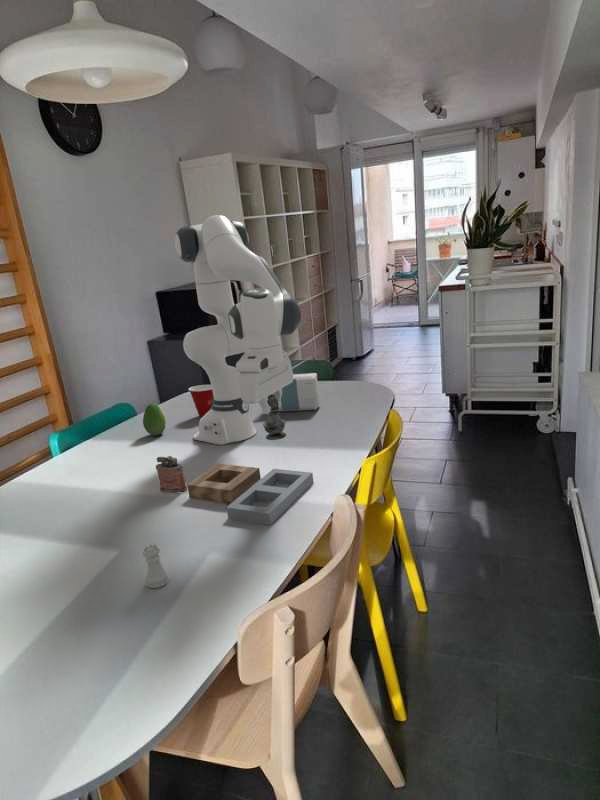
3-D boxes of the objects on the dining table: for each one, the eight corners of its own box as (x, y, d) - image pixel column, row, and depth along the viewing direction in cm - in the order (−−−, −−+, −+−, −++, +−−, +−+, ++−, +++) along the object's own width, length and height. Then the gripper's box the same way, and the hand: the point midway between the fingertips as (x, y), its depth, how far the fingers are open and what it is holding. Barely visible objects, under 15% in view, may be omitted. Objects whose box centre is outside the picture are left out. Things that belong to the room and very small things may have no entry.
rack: (228, 518, 133) (226, 507, 132) (274, 478, 152) (273, 468, 151) (270, 525, 127) (269, 513, 126) (313, 482, 146) (312, 472, 145)
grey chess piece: (284, 440, 136) (278, 394, 133) (261, 441, 138) (255, 395, 134) (289, 431, 142) (283, 387, 139) (267, 432, 143) (261, 388, 140)
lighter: (189, 488, 152) (183, 454, 150) (183, 493, 149) (176, 459, 147) (164, 486, 155) (158, 454, 152) (158, 492, 152) (151, 459, 149)
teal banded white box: (265, 413, 211) (258, 363, 206) (270, 407, 219) (264, 358, 213) (317, 411, 206) (312, 360, 201) (321, 404, 214) (316, 355, 208)
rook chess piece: (148, 577, 112) (141, 543, 110) (170, 574, 112) (163, 540, 110) (144, 591, 108) (136, 555, 105) (167, 587, 108) (159, 552, 106)
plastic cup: (226, 412, 219) (221, 383, 216) (208, 420, 211) (203, 391, 207) (206, 410, 225) (201, 382, 222) (187, 418, 217) (182, 389, 213)
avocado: (170, 430, 205) (164, 399, 201) (163, 437, 197) (157, 406, 194) (150, 431, 206) (144, 401, 202) (142, 439, 198) (135, 407, 195)
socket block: (189, 498, 146) (187, 484, 145) (219, 476, 158) (217, 463, 157) (232, 504, 139) (230, 490, 138) (261, 481, 151) (259, 468, 150)
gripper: (274, 347, 144) (281, 397, 148) (231, 366, 127) (239, 422, 131) (295, 346, 141) (301, 398, 145) (254, 366, 124) (262, 424, 128)
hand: (272, 409), depth 138 cm, fingers closed on grey chess piece, 4 cm apart
